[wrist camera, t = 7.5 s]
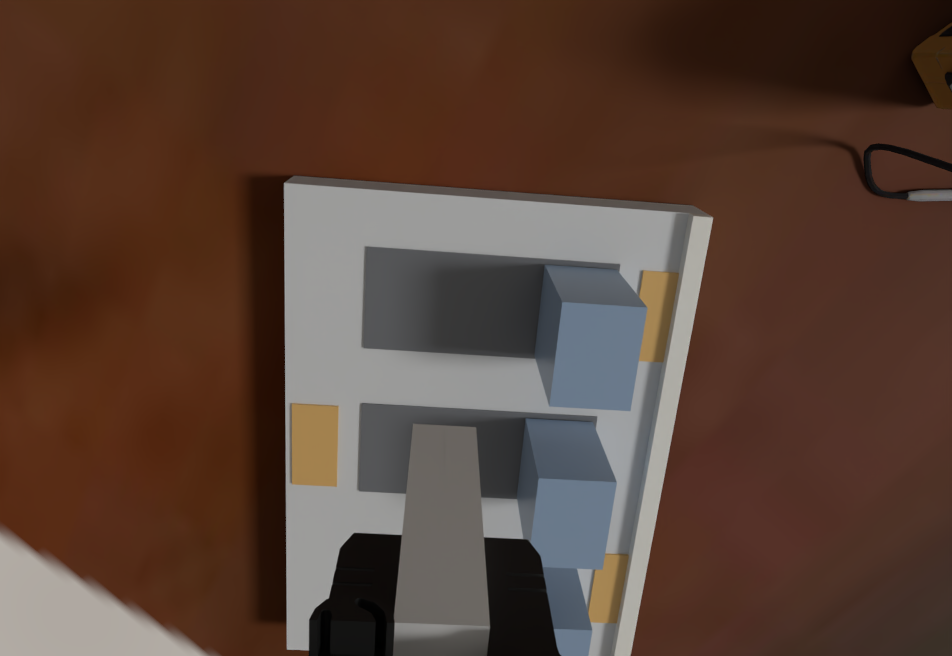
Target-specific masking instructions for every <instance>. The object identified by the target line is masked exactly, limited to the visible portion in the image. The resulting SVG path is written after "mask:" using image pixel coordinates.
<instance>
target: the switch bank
mask: <svg viewBox="0 0 952 656" xmlns="http://www.w3.org/2000/svg"><path fill="white" fill-rule="evenodd" d="M712 221H713V217H711V216H710V215H708V214H706V213H705V212H703V211H701V210H700V209H698V208H696V207H695V206H692V205H679V204H666V203H652V202H639V201H626V200H612V199H599V198H586V197H572V196H559V195H546V194H532V193H519V192H506V191H492V190H479V189H466V188H452V187H439V186H426V185H412V184H399V183H386V182H372V181H359V180H346V179H332V178H319V177H306V176H293V177H291V178H290V179H289V180H287V181H286V182H285V183H284V261H285V424H286V586H287V650H309V619H310V617H311V615H312V613H313V611H314V609H315V608H316V607H317V606H319V605H320V604H321V603H322V602H324V601H325V600H326V599H329V595H330V591H331V586H332V583H333V577H334V573H335V570H336V564H337V559H338V555H339V550H340V548H341V547H342V545H343V544H344V543H345V542H346V541H347V540H348V539H349V538H350V536H351V535H352V534H353V533H371V534H392V535H402V530H403V520H404V510H405V500H406V490H407V480H408V470H409V460H410V450H411V440H412V430H413V424H428V425H446V426H463V427H476V432H477V446H478V461H479V475H480V489H481V504H482V518H483V532H484V537H490V538H510V539H523V533H522V527H521V521H520V514H519V508H518V502H517V490H518V481H519V472H520V463H521V455H522V446H523V437H524V428H525V420H526V418H529V419H547V420H564V421H582V422H593V424H594V426H595V429H596V431H597V434H598V436H599V439H600V441H601V444H602V446H603V449H604V451H605V454H606V456H607V459H608V461H609V464H610V466H611V469H612V471H613V474H614V476H615V479H616V481H617V485H616V491H615V497H614V503H613V510H612V516H611V522H610V528H609V534H608V540H607V546H606V552H605V558H604V564H603V570H596V569H577V571H578V575H579V579H580V583H581V587H582V591H583V595H584V599H585V603H586V607H587V610H588V614H589V618H590V622H591V626H592V630H593V631H592V637H591V643H590V649H589V655H588V656H630V655H631V650H632V644H633V639H634V634H635V629H636V623H637V618H638V613H639V607H640V602H641V597H642V592H643V586H644V581H645V576H646V570H647V565H648V560H649V555H650V549H651V544H652V539H653V533H654V528H655V523H656V517H657V512H658V507H659V502H660V496H661V491H662V486H663V480H664V475H665V470H666V465H667V459H668V454H669V449H670V443H671V438H672V433H673V428H674V422H675V417H676V412H677V406H678V401H679V396H680V391H681V385H682V380H683V375H684V369H685V364H686V359H687V353H688V348H689V343H690V338H691V332H692V327H693V322H694V316H695V311H696V306H697V301H698V295H699V290H700V285H701V279H702V274H703V269H704V264H705V258H706V253H707V248H708V242H709V237H710V232H711V227H712ZM545 265H557V266H572V267H586V268H600V269H615V270H618V272H619V273H620V274H621V275H622V277H623V278H624V279H625V280H626V282H627V283H628V284H629V285H630V286H631V288H632V289H633V290H634V291H635V293H636V294H637V295H638V296H639V298H640V299H641V300H642V301H643V303H644V304H645V305H646V306H647V314H646V320H645V326H644V332H643V338H642V344H641V350H640V356H639V363H638V369H637V375H636V381H635V387H634V393H633V399H632V405H631V411H618V410H601V409H583V408H566V407H549V404H548V400H547V397H546V394H545V390H544V387H543V383H542V380H541V376H540V373H539V370H538V366H537V363H536V359H535V356H534V354H535V345H536V336H537V327H538V319H539V310H540V301H541V293H542V284H543V275H544V266H545Z"/></svg>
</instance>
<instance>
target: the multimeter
mask: <svg viewBox="0 0 952 656" xmlns="http://www.w3.org/2000/svg"><path fill="white" fill-rule="evenodd" d="M911 59H912V61H913V63H914V65H915V67H916V69H917V71H918V73H919V75H920V76H921V78H922V80H923V82H924V84H925V86H926V88H927V90H928V92H929V94H930V96H931V98H932V100H933V102H934V103H935V105H936V107H937V108H941V109H952V22H951V23H950V24H949V25H947V26H946V27H945V28H943V29H942V30H940V31H939V32H938V33H936V34H935V35H933V36H930V37H929V38H927V39H926V40H925V41H923V42H922V43H921V44H920V45H918V46H917V47H916V48H915V49H914V50H913V52H912V57H911ZM873 150H887V151H891V152H895V153H898V154H902V155H905V156H908V157H911V158H914V159H917V160H919V161H922V162H925V163H928V164H931V165H933V166H936V167H939V168H942V169H945V170H948V171H950V172H952V164H950V163H947V162H944V161H942V160H939V159H936V158H933V157H930V156H927V155H924V154H921V153H918V152H915V151H912V150H909V149H905V148H901V147H897V146H893V145H887V144H872V145H870V146H869V147H868V148H867V149H866V150H865V151H864V171H865V177H866V180H867V183H868V185H869V187H870V188H871V190H872V191H874V192H875V193H876V194H878V195H880V196H883V197H887V198H897V199H907V200H912V201H952V190H918V191H911V192H907V193H890V192H886V191H883V190H881V189H879V188H878V187H877V186H876V184H875V182H874V180H873V177H872V172H871V161H870V157H871V152H872V151H873Z"/></svg>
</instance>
